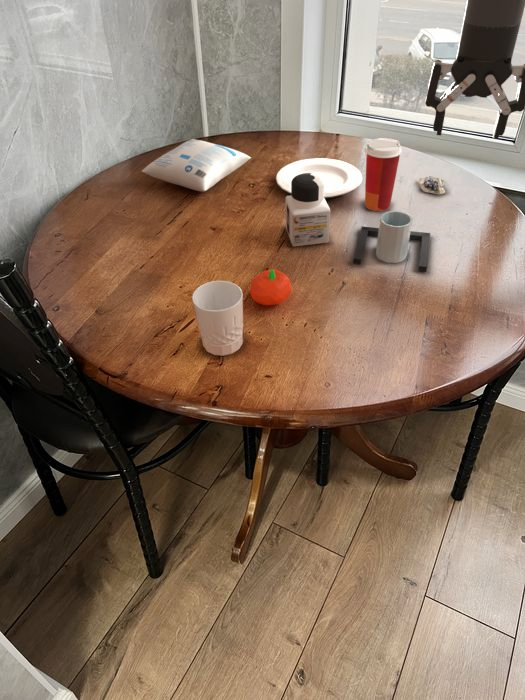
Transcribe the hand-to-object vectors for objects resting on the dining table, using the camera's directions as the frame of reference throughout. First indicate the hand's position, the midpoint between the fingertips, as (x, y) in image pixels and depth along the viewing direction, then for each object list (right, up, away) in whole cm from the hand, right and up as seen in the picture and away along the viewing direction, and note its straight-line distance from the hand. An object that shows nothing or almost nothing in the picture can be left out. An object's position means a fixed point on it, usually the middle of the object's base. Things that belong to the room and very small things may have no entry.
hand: (466, 135), depth 85 cm
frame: (-6, -14, +23) cm, 28 cm away
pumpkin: (-31, -25, +14) cm, 42 cm away
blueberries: (+8, +5, +43) cm, 44 cm away
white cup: (-39, -33, +6) cm, 51 cm away
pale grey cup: (-7, -15, +23) cm, 28 cm away
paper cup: (-6, -1, +38) cm, 38 cm away
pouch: (-48, +9, +51) cm, 71 cm away
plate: (-19, +7, +47) cm, 51 cm away
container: (-23, -10, +29) cm, 39 cm away
